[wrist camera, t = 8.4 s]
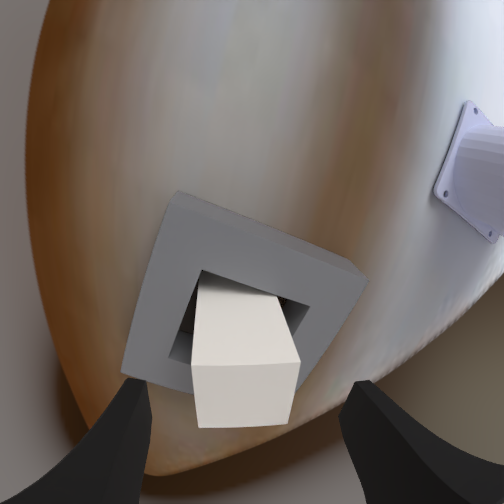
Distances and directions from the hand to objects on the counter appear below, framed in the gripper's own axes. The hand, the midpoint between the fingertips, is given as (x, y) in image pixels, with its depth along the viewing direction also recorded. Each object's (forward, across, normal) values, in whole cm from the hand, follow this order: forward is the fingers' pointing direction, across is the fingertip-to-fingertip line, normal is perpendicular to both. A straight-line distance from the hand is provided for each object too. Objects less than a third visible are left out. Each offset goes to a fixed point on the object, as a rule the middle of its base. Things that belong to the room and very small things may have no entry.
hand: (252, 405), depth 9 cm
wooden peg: (+9, 0, +1) cm, 9 cm away
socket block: (+9, 0, +2) cm, 10 cm away
